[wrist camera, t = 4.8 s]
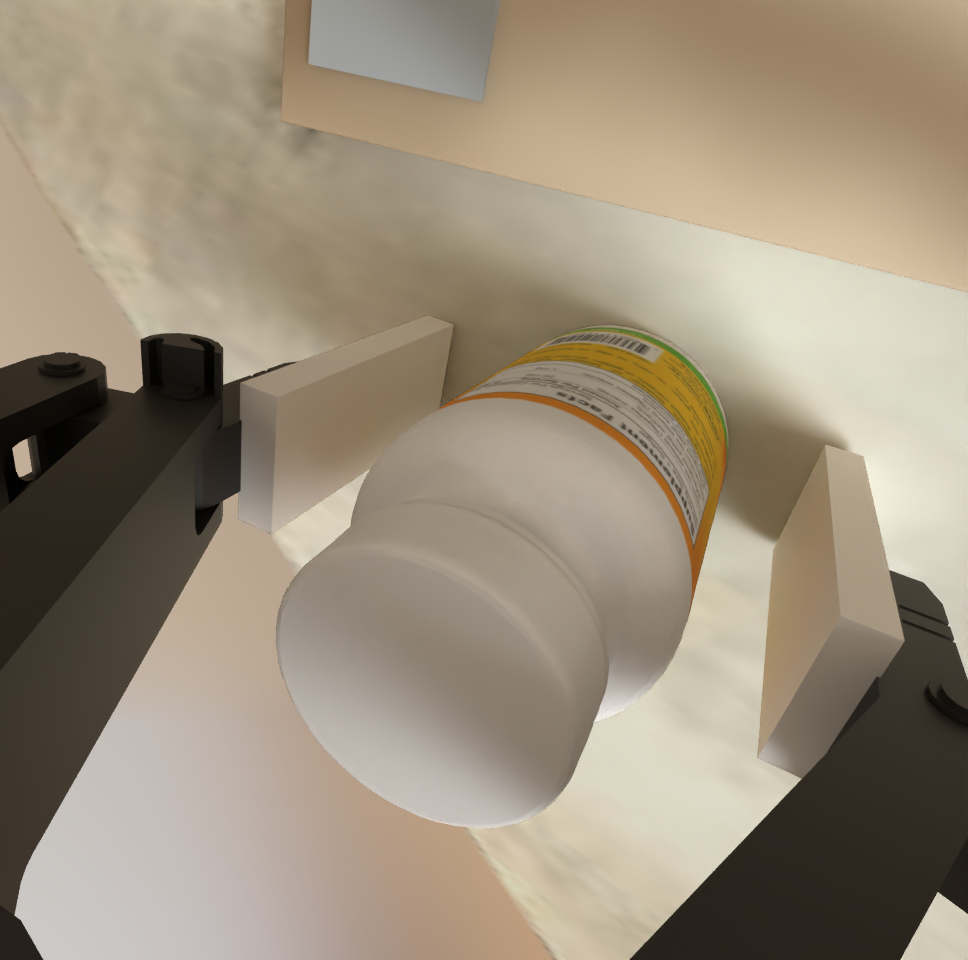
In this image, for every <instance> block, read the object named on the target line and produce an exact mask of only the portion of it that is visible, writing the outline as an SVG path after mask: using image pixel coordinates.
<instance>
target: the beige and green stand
mask: <svg viewBox="0 0 968 960" xmlns="http://www.w3.org/2000/svg"><path fill="white" fill-rule="evenodd" d="M281 121H284V122H288V123H292V124H296V125H300V126H304V127H308V128H312V129H316V130H320V131H324V132H328V133H332V134H336V135H340V136H344V137H348V138H352V139H356V140H360V141H364V142H368V143H372V144H376V145H380V146H384V147H388V148H392V149H396V150H400V151H404V152H408V153H412V154H416V155H420V156H424V157H428V158H432V159H436V160H440V161H444V162H448V163H452V164H456V165H460V166H464V167H468V168H472V169H476V170H480V171H484V172H488V173H492V174H496V175H500V176H504V177H508V178H512V179H516V180H520V181H524V182H528V183H532V184H536V185H540V186H544V187H548V188H552V189H556V190H560V191H564V192H568V193H572V194H576V195H580V196H584V197H588V198H592V199H596V200H600V201H604V202H608V203H612V204H616V205H620V206H624V207H628V208H632V209H636V210H640V211H644V212H648V213H652V214H656V215H660V216H664V217H668V218H672V219H676V220H680V221H684V222H688V223H692V224H696V225H700V226H704V227H708V228H712V229H716V230H720V231H724V232H728V233H732V234H736V235H740V236H744V237H748V238H752V239H756V240H760V241H764V242H768V243H772V244H776V245H780V246H784V247H788V248H792V249H796V250H800V251H804V252H808V253H812V254H816V255H820V256H824V257H828V258H832V259H836V260H840V261H844V262H848V263H852V264H856V265H860V266H864V267H868V268H872V269H876V270H880V271H884V272H888V273H892V274H896V275H900V276H904V277H908V278H912V279H916V280H920V281H924V282H928V283H932V284H936V285H940V286H944V287H948V288H952V289H956V290H960V291H964V292H968V0H286V11H285V35H284V58H283V82H282V106H281Z"/></svg>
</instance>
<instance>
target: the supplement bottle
mask: <svg viewBox="0 0 968 960" xmlns="http://www.w3.org/2000/svg"><path fill="white" fill-rule="evenodd" d="M728 445H729V440H728V428H727V422H726V417H725V414H724V410H723V407H722V405H721V402H720V399H719V397H718V395H717V393H716V391H715V389H714V387H713V385H712V384H711V382H710V380H709V379H708V377H707V376H706V375H705V373H704V372H703V371H702V369H701V368H700V367H699V366H698V365H697V364H696V363H695V362H694V361H693V360H692V359H691V358H690V357H689V356H688V355H687V354H686V353H684V352H683V351H682V350H680V349H679V348H677V347H676V346H675V345H673V344H671V343H670V342H668V341H666V340H664V339H662V338H660V337H658V336H656V335H653V334H651V333H648V332H645V331H642V330H638V329H634V328H630V327H624V326H615V325H600V326H591V327H585V328H580V329H577V330H573V331H570V332H567V333H564V334H562V335H560V336H558V337H555V338H553V339H551V340H549V341H547V342H545V343H544V344H542V345H540V346H539V347H537V348H535V349H534V350H532V351H530V352H529V353H527V354H526V355H524V356H523V357H521V358H519V359H518V360H516V361H515V362H513V363H511V364H510V365H508V366H507V367H505V368H503V369H502V370H500V371H499V372H497V373H495V374H494V375H492V376H490V377H489V378H487V379H486V380H484V381H482V382H481V383H479V384H477V385H476V386H474V387H473V388H471V389H469V390H468V391H466V392H465V393H463V394H461V395H460V396H458V397H456V398H455V399H453V400H452V401H450V402H448V403H446V404H445V405H443V406H442V407H440V408H439V409H437V410H436V411H434V412H433V413H431V414H430V415H428V416H427V417H425V418H424V419H422V420H421V421H419V422H418V423H416V424H415V425H413V426H412V427H411V428H409V429H408V430H407V431H406V432H404V433H403V434H402V435H401V436H399V437H398V438H397V439H396V440H395V441H394V442H393V443H392V444H390V445H389V446H388V447H387V448H386V450H385V451H384V452H383V453H382V454H381V455H380V457H379V458H378V459H377V460H376V462H375V463H374V465H373V466H372V468H371V469H370V471H369V473H368V474H367V476H366V478H365V480H364V482H363V484H362V487H361V489H360V491H359V494H358V497H357V500H356V503H355V507H354V510H353V515H352V519H351V527H349V528H348V529H347V530H346V531H345V532H344V533H343V534H342V535H341V536H339V537H338V538H337V539H336V540H335V541H334V542H333V543H332V544H330V545H329V546H328V547H327V548H325V549H324V550H323V551H322V552H320V553H319V554H318V555H317V556H316V557H314V558H313V559H312V560H311V561H309V562H308V563H307V564H306V565H305V566H304V567H303V568H302V569H301V570H300V571H299V573H298V574H297V575H296V576H295V577H294V579H293V580H292V582H291V583H290V585H289V587H288V588H287V590H286V592H285V594H284V596H283V599H282V602H281V605H280V608H279V612H278V617H277V626H276V646H277V654H278V662H279V665H280V669H281V673H282V677H283V679H284V681H285V684H286V687H287V689H288V692H289V695H290V697H291V699H292V701H293V703H294V705H295V707H296V709H297V711H298V712H299V714H300V716H301V717H302V719H303V721H304V722H305V724H306V725H307V727H308V728H309V730H310V731H311V733H312V734H313V735H314V737H315V738H316V739H317V740H318V742H319V743H320V744H321V746H322V747H323V748H324V749H325V750H326V751H327V752H328V753H329V754H330V756H332V758H333V759H334V760H335V761H336V762H338V764H340V765H341V766H342V767H343V768H344V769H345V770H346V771H347V772H348V773H350V774H351V775H352V776H353V777H354V778H355V779H357V780H358V781H359V782H360V783H362V784H363V785H364V786H366V787H367V788H369V789H370V790H371V791H373V792H374V793H376V794H377V795H379V796H380V797H382V798H384V799H386V800H387V801H389V802H391V803H392V804H394V805H396V806H399V807H401V808H403V809H405V810H407V811H409V812H411V813H413V814H415V815H417V816H420V817H423V818H426V819H429V820H432V821H436V822H440V823H445V824H449V825H454V826H460V827H469V828H496V827H502V826H508V825H513V824H516V823H518V822H521V821H524V820H526V819H528V818H530V817H533V816H534V815H536V814H537V813H539V812H541V811H542V810H544V809H546V808H547V807H548V806H549V805H550V804H551V803H552V802H553V801H555V799H556V798H557V797H558V796H559V795H560V793H561V792H562V791H563V790H564V788H565V787H566V785H567V784H568V783H569V781H570V779H571V777H572V775H573V773H574V771H575V768H576V766H577V763H578V761H579V758H580V756H581V754H582V751H583V749H584V747H585V744H586V742H587V740H588V737H589V734H590V731H591V729H592V726H593V723H596V722H599V721H602V720H604V719H606V718H608V717H611V716H613V715H615V714H617V713H619V712H621V711H623V710H624V709H626V708H627V707H629V706H630V705H632V704H633V703H635V702H636V701H637V700H638V699H640V698H641V697H642V696H643V695H644V694H646V693H647V692H648V691H649V690H650V689H651V688H652V686H653V685H654V684H655V683H656V682H657V680H658V679H659V678H660V677H661V676H662V674H663V673H664V671H665V670H666V668H667V667H668V665H669V664H670V662H671V660H672V659H673V657H674V655H675V652H676V650H677V648H678V645H679V643H680V641H681V638H682V634H683V631H684V628H685V626H686V623H687V620H688V616H689V613H690V609H691V605H692V601H693V597H694V593H695V589H696V585H697V581H698V577H699V573H700V569H701V565H702V562H703V558H704V554H705V550H706V546H707V542H708V538H709V534H710V530H711V526H712V523H713V519H714V516H715V512H716V507H717V503H718V499H719V496H720V492H721V488H722V484H723V479H724V475H725V470H726V465H727V458H728Z"/></svg>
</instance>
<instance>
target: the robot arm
mask: <svg viewBox="0 0 968 960" xmlns="http://www.w3.org/2000/svg"><path fill="white" fill-rule="evenodd" d="M453 327H454V324H452V323H449V322H446V321H443V320H439V319H436V318H433V317H430V316H424V317H421V318H419V319H416V320H413V321H410V322H408V323H405V324H402V325H399V326H396V327H394V328H391V329H388V330H385V331H383V332H380V333H377V334H374V335H371V336H369V337H366V338H363V339H360V340H358V341H355V342H352V343H349V344H346V345H344V346H341V347H338V348H335V349H333V350H330V351H327V352H324V353H321V354H319V355H316V356H313V357H310V358H308V359H305V360H302V361H299V362H290V363H284V364H281V365H278V366H275V367H273V368H270V369H268V370H267V371H261V372H258V373H256V374H254V375H253V376H247V377H244V378H241V379H239V380H236V381H233V382H230V383H227V384H224V385H223V347H222V346H221V345H220V344H219V343H218V342H215V341H213V340H211V339H209V338H205V337H201V336H197V335H191V334H181V333H166V334H158V335H152V336H148V337H146V338H144V339H141V357H142V374H143V386H142V387H141V388H140V389H139V390H138V391H137V392H135V393H129V392H123V391H119V390H114V389H109V388H107V376H106V367H105V366H104V365H103V364H102V363H101V362H100V361H97V360H95V359H93V358H90V357H85V356H79V355H78V354H76V353H67V354H66V353H65V352H57V353H54V354H50V355H41V356H38V357H33V358H29V359H26V360H23V361H20V362H17V363H15V364H12V365H9V366H6V367H3V368H0V960H43V959H42V957H41V955H40V953H39V952H38V950H37V948H36V946H35V944H34V943H33V941H32V939H31V938H30V936H29V934H28V932H27V930H26V929H25V927H24V925H23V923H22V922H21V920H20V919H18V918H17V917H16V916H14V914H15V909H16V904H17V899H18V894H19V889H20V884H21V880H22V877H23V874H24V871H25V869H26V866H27V864H28V862H29V860H30V858H31V856H32V854H33V852H34V850H35V849H36V846H37V845H38V843H39V842H40V840H41V838H42V836H43V834H44V833H45V831H46V829H47V827H48V826H49V824H50V822H51V820H52V819H53V817H54V815H55V813H56V812H57V810H58V808H59V806H60V805H61V803H62V801H63V799H64V798H65V796H66V794H67V792H68V791H69V788H70V787H71V785H72V784H73V782H74V780H75V778H76V777H77V774H78V773H79V771H80V770H81V768H82V766H83V764H84V763H85V761H86V759H87V757H88V755H89V754H90V752H91V750H92V748H93V747H94V745H95V743H96V741H97V740H98V738H99V736H100V734H101V733H102V731H103V729H104V727H105V726H106V724H107V722H108V720H109V719H110V717H111V715H112V713H113V712H114V710H115V708H116V706H117V705H118V703H119V701H120V699H121V697H122V696H123V693H124V692H125V691H126V689H127V687H128V685H129V683H130V682H131V680H132V678H133V677H134V675H135V673H136V671H137V669H138V668H139V666H140V664H141V662H142V661H143V659H144V657H145V655H146V654H147V652H148V650H149V648H150V647H151V645H152V643H153V641H154V640H155V638H156V636H157V634H158V633H159V631H160V629H161V627H162V626H163V624H164V622H165V620H166V619H167V617H168V615H169V613H170V612H171V610H172V608H173V606H174V604H175V603H176V601H177V599H178V598H179V596H180V594H181V592H182V590H183V589H184V587H185V585H186V583H187V582H188V580H189V578H190V576H191V575H192V573H193V571H194V569H195V568H196V566H197V564H198V562H199V561H200V559H201V557H202V555H203V553H204V552H205V550H206V548H207V547H208V545H209V543H210V541H211V540H212V538H213V536H214V534H215V533H216V531H217V529H218V527H219V526H220V524H221V522H222V516H223V500H225V499H227V498H229V497H231V496H232V495H234V494H236V493H238V492H239V500H238V519H239V520H241V521H243V522H245V523H247V524H250V525H252V526H254V527H256V528H258V529H260V530H263V531H265V532H267V533H269V534H273V533H274V532H276V531H277V530H279V529H280V528H282V527H283V526H285V525H286V524H288V523H289V522H291V521H292V520H294V519H295V518H297V517H298V516H300V515H301V514H303V513H304V512H306V511H307V510H309V509H310V508H312V507H313V506H315V505H316V504H318V503H319V502H321V501H322V500H324V499H325V498H327V497H328V496H330V495H331V494H333V493H334V492H336V491H337V490H339V489H340V488H342V487H343V486H345V485H346V484H348V483H349V482H351V481H352V480H354V479H355V478H357V477H358V476H360V475H361V474H363V473H364V472H366V471H367V470H369V469H370V468H372V466H373V465H374V463H375V462H376V460H377V459H378V458H379V457H380V455H381V454H382V453H383V452H384V451H385V450H386V448H387V447H388V446H389V445H390V444H392V443H393V442H394V441H395V440H396V439H397V438H398V437H399V436H401V435H402V434H403V433H404V432H406V431H407V430H408V429H409V428H411V427H412V426H413V425H415V424H416V423H418V422H419V421H421V420H422V419H424V418H425V417H427V416H428V415H430V414H431V413H433V412H434V411H436V410H437V409H439V408H440V402H441V396H442V390H443V385H444V379H445V373H446V367H447V362H448V356H449V350H450V344H451V339H452V333H453ZM25 439H28V446H29V452H30V459H31V466H32V472H31V473H29V474H27V475H25V476H22V477H19V476H18V474H17V472H16V468H15V462H14V456H13V451H12V448H13V447H14V446H15V445H17V444H18V443H19V442H21V441H22V440H25ZM948 624H949V622H948V619H947V616H946V613H945V610H944V607H943V604H942V603H941V602H940V601H939V600H938V599H937V597H936V596H935V595H934V594H933V593H932V592H931V591H930V589H929V588H928V587H927V586H926V585H925V584H924V583H923V582H920V581H917V580H915V579H912V578H909V577H906V576H904V575H901V574H898V573H895V572H893V571H890V570H889V569H888V564H887V560H886V555H885V551H884V546H883V542H882V537H881V533H880V529H879V524H878V520H877V515H876V511H875V506H874V502H873V497H872V493H871V488H870V484H869V480H868V475H867V471H866V466H865V462H864V457H863V456H860V455H857V454H854V453H851V452H848V451H845V450H841V449H838V448H835V447H832V446H829V445H826V444H825V446H824V448H823V450H822V452H821V454H820V456H819V458H818V460H817V462H816V464H815V466H814V468H813V470H812V472H811V474H810V476H809V478H808V480H807V482H806V484H805V486H804V488H803V490H802V492H801V494H800V497H799V499H798V501H797V503H796V505H795V507H794V509H793V511H792V513H791V515H790V517H789V519H788V521H787V523H786V525H785V527H784V529H783V531H782V533H781V535H780V537H779V539H778V541H777V543H776V545H775V547H774V549H773V561H772V574H771V587H770V600H769V613H768V626H767V639H766V652H765V665H764V678H763V691H762V704H761V717H760V730H759V743H758V756H757V758H759V759H761V760H763V761H765V762H767V763H770V764H772V765H774V766H776V767H778V768H781V769H783V770H785V771H787V772H789V773H791V774H794V775H796V776H798V777H800V778H802V779H801V780H800V781H799V782H798V784H797V785H796V786H795V787H794V788H793V789H792V790H791V791H790V792H789V793H788V794H787V795H786V796H785V797H784V798H783V799H782V800H781V801H780V802H779V803H778V804H777V806H776V807H775V808H774V809H773V810H772V811H771V812H770V813H769V814H768V815H767V816H766V817H765V818H764V819H763V820H762V821H761V822H760V823H759V824H758V825H757V827H756V828H755V829H754V830H753V831H752V832H751V833H750V834H749V835H748V836H747V837H746V838H745V839H744V840H743V841H742V842H741V843H740V844H739V845H738V846H737V847H736V849H735V850H734V851H733V852H732V853H731V854H730V855H729V856H728V857H727V858H726V859H725V860H724V861H723V862H722V863H721V864H720V865H719V866H718V867H717V868H716V870H715V871H714V872H713V873H712V874H711V875H710V876H709V877H708V878H707V879H706V880H705V881H704V882H703V883H702V884H701V885H700V886H699V887H698V888H697V889H696V891H695V892H694V893H693V894H692V895H691V896H690V897H689V898H688V899H687V900H686V901H685V902H684V903H683V904H682V905H681V906H680V907H679V908H678V909H677V910H676V911H675V913H674V914H673V915H672V916H671V917H670V918H669V919H668V920H667V921H666V922H665V923H664V924H663V925H662V926H661V927H660V928H659V929H658V930H657V931H656V932H655V934H654V935H653V936H652V937H651V938H650V939H649V940H648V941H647V942H646V943H645V944H644V945H643V946H642V947H641V948H640V949H639V950H638V951H637V952H636V953H635V955H634V956H633V957H632V958H631V959H630V960H900V959H901V957H902V956H903V954H904V952H905V950H906V948H907V947H908V945H909V943H910V941H911V939H912V937H913V936H914V934H915V932H916V930H917V928H918V927H919V925H920V923H921V921H922V919H923V918H924V916H925V914H926V912H927V910H928V908H929V907H930V905H931V903H932V901H933V899H934V898H935V896H936V894H937V892H939V893H940V894H942V895H943V896H944V897H946V898H947V899H948V900H950V901H951V902H952V903H954V904H955V905H956V906H958V907H959V908H961V909H962V910H963V911H965V912H966V913H967V914H968V679H967V676H966V673H965V670H964V667H963V664H962V661H961V658H960V655H959V652H958V649H957V646H956V643H954V642H953V640H954V637H953V634H952V631H951V628H950V627H949V626H948Z"/></svg>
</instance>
